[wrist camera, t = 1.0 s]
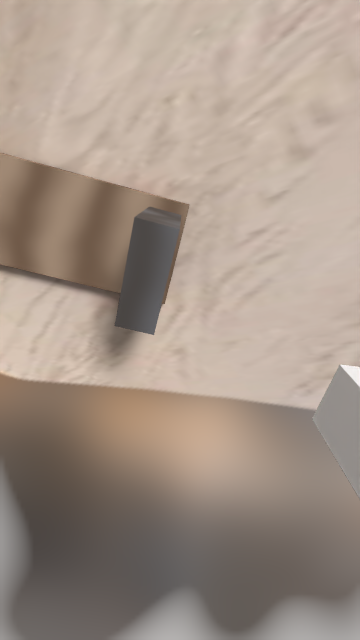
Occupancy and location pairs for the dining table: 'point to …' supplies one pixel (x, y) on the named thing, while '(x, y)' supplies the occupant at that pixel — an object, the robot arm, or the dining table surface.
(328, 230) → the dining table surface
